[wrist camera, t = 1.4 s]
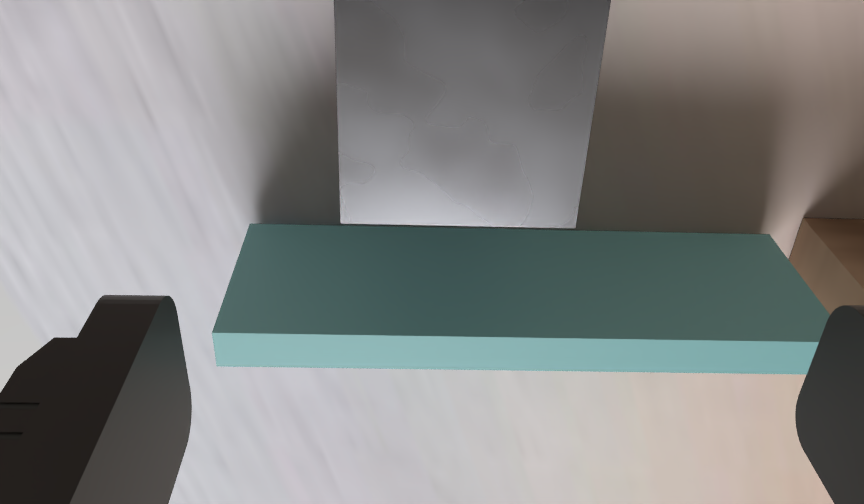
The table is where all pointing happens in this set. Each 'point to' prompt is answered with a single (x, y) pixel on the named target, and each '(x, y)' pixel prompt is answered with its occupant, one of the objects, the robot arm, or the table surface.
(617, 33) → the table surface
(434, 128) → the block
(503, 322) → the door
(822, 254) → the wall frame
